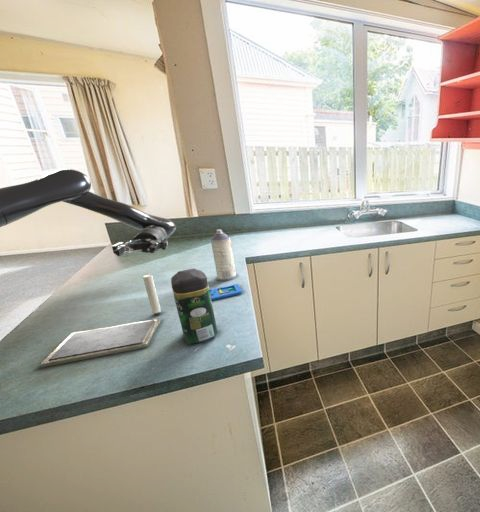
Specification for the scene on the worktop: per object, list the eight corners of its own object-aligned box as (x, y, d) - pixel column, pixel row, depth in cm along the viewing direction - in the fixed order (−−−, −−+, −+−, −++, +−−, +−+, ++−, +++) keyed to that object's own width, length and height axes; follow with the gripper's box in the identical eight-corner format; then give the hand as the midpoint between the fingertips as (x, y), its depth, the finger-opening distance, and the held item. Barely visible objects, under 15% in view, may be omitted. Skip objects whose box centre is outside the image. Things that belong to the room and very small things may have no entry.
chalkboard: (41, 367, 68) (39, 363, 68) (72, 336, 81) (71, 332, 80) (147, 347, 76) (145, 343, 76) (160, 321, 88) (159, 317, 88)
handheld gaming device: (191, 292, 104) (237, 282, 113) (192, 295, 105) (237, 285, 113) (194, 301, 98) (242, 290, 107) (194, 304, 98) (242, 293, 107)
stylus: (152, 316, 91) (141, 277, 87) (154, 313, 93) (144, 275, 89) (160, 315, 91) (150, 276, 87) (162, 312, 93) (153, 274, 89)
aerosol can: (239, 276, 122) (232, 229, 116) (223, 281, 117) (215, 232, 111) (230, 273, 126) (222, 227, 120) (214, 278, 120) (205, 230, 114)
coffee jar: (182, 332, 83) (167, 270, 77) (213, 323, 88) (202, 264, 82) (186, 348, 76) (170, 282, 70) (220, 338, 80) (208, 274, 75)
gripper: (122, 231, 104) (102, 242, 90) (170, 228, 110) (159, 238, 95) (128, 251, 106) (109, 265, 92) (174, 247, 112) (164, 260, 98)
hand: (134, 251), depth 94 cm, fingers open, 8 cm apart
